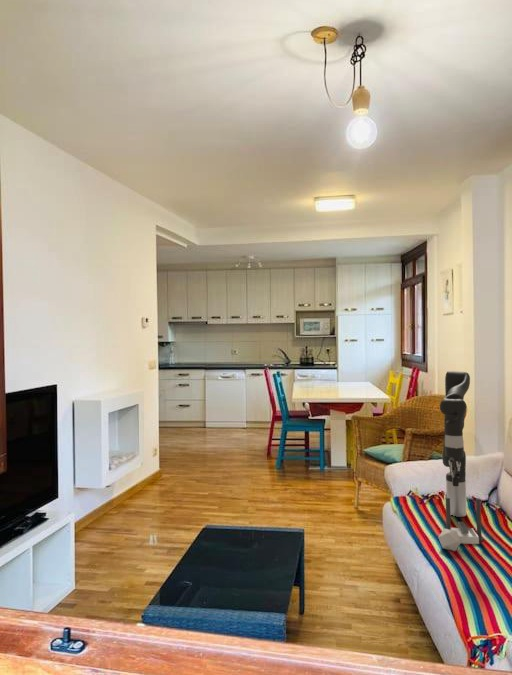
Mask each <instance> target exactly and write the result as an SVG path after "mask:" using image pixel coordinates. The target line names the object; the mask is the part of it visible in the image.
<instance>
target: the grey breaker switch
mask: <svg viewBox="0 0 512 675" xmlns="http://www.w3.org/2000/svg"><path fill="white" fill-rule="evenodd" d="M457 523H458V528H460V524H465V521H458V522H457Z"/></svg>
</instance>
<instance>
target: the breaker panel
mask: <svg viewBox="0 0 512 675" xmlns="http://www.w3.org/2000/svg"><path fill="white" fill-rule="evenodd" d="M451 530H455V531H457V533H458V535H459V538H460V540H461V543H460V544H466V545H467V544H468V545H469V544H470V545H471V544H474V545H480V541H479V536H478V535H477V531H475V530H474V528H473V527H468V532H469V534H462V531H461V530H460V528H459V527H451Z"/></svg>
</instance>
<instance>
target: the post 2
mask: <svg viewBox="0 0 512 675" xmlns="http://www.w3.org/2000/svg"><path fill="white" fill-rule="evenodd" d="M475 502H476V503H475V505H476V506H475V508H476V509H475V510H476V513H475V514H476V534H477V535H478V536H479V542H483V541H484V537H483V536H482V512H481V511H482V506H481V498H479V497H478V498H475Z"/></svg>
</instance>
